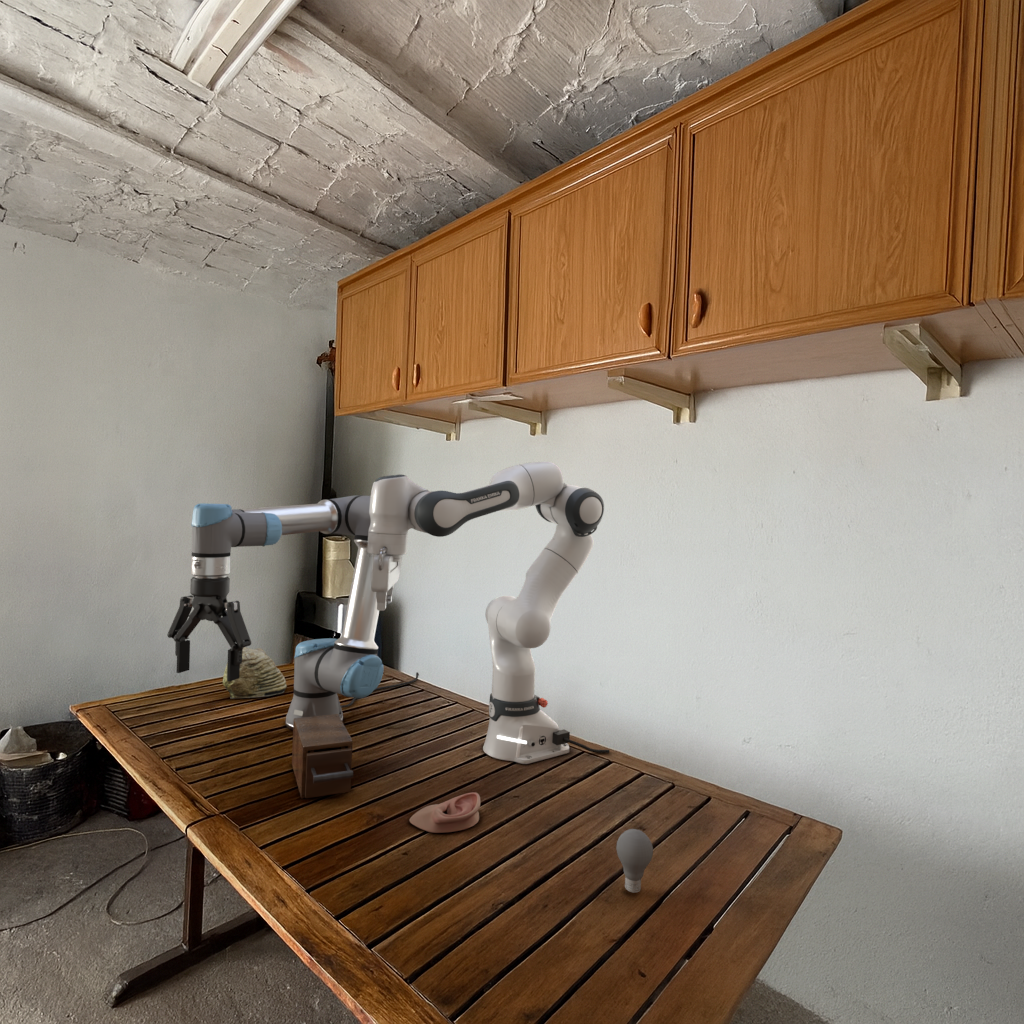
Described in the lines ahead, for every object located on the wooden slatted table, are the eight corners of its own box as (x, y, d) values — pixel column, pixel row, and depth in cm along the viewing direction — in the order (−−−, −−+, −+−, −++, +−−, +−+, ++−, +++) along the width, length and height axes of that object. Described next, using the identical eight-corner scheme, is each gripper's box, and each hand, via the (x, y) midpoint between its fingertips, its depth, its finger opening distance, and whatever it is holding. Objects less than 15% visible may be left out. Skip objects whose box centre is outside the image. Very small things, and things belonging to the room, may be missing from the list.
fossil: (218, 695, 195) (220, 647, 195) (278, 685, 208) (279, 640, 207) (228, 703, 189) (230, 653, 188) (289, 692, 201) (290, 645, 201)
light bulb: (610, 879, 108) (613, 822, 108) (644, 879, 109) (647, 822, 109) (619, 902, 102) (622, 840, 102) (655, 901, 103) (658, 840, 103)
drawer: (355, 804, 129) (357, 760, 129) (309, 811, 125) (311, 766, 125) (336, 760, 150) (338, 723, 150) (296, 766, 146) (297, 727, 146)
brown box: (350, 791, 137) (352, 741, 137) (301, 798, 133) (303, 747, 132) (336, 758, 153) (338, 713, 153) (291, 764, 149) (293, 718, 149)
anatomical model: (404, 808, 122) (424, 782, 133) (403, 828, 122) (423, 801, 133) (470, 818, 119) (485, 791, 131) (469, 838, 119) (484, 810, 131)
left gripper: (150, 573, 135) (148, 672, 135) (245, 583, 127) (241, 688, 127) (179, 569, 142) (177, 663, 142) (270, 578, 134) (267, 678, 134)
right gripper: (395, 550, 133) (392, 615, 133) (406, 543, 154) (403, 600, 154) (365, 548, 133) (362, 614, 133) (380, 542, 153) (377, 599, 153)
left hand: (207, 675), depth 135 cm, fingers open, 13 cm apart
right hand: (384, 606), depth 144 cm, fingers open, 8 cm apart
